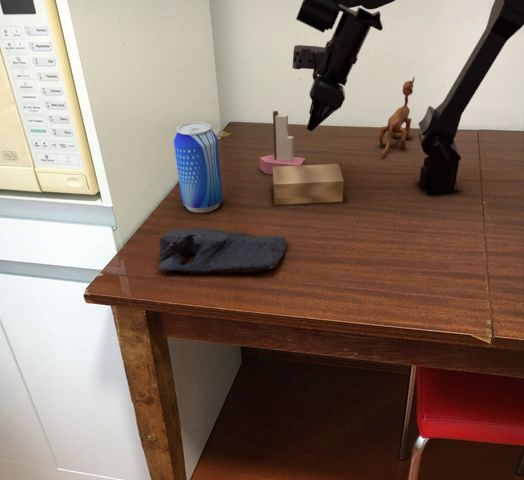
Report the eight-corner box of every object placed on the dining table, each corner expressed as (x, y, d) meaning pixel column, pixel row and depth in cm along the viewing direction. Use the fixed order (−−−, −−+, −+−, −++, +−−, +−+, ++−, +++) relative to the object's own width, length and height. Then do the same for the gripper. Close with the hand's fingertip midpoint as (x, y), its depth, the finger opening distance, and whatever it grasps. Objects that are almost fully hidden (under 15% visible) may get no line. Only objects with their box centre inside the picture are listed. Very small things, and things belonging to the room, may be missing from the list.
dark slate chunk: (275, 284, 99) (274, 259, 96) (150, 274, 103) (146, 250, 100) (291, 240, 110) (291, 216, 107) (179, 232, 115) (176, 209, 112)
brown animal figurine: (395, 161, 137) (401, 99, 128) (368, 157, 140) (372, 96, 131) (417, 135, 149) (424, 77, 141) (391, 132, 152) (397, 75, 143)
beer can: (174, 207, 124) (162, 129, 114) (204, 193, 128) (195, 117, 118) (201, 218, 119) (192, 138, 109) (231, 203, 124) (225, 125, 114)
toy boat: (305, 170, 136) (305, 110, 127) (299, 177, 132) (299, 117, 124) (263, 165, 139) (261, 107, 130) (257, 173, 135) (254, 113, 127)
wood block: (337, 183, 129) (338, 163, 126) (342, 201, 122) (343, 180, 119) (273, 186, 129) (272, 166, 126) (274, 205, 122) (273, 184, 119)
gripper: (308, 14, 116) (277, 91, 125) (303, 36, 101) (268, 121, 111) (360, 39, 118) (325, 113, 127) (362, 64, 103) (322, 145, 113)
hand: (310, 122), depth 120 cm, fingers open, 9 cm apart
